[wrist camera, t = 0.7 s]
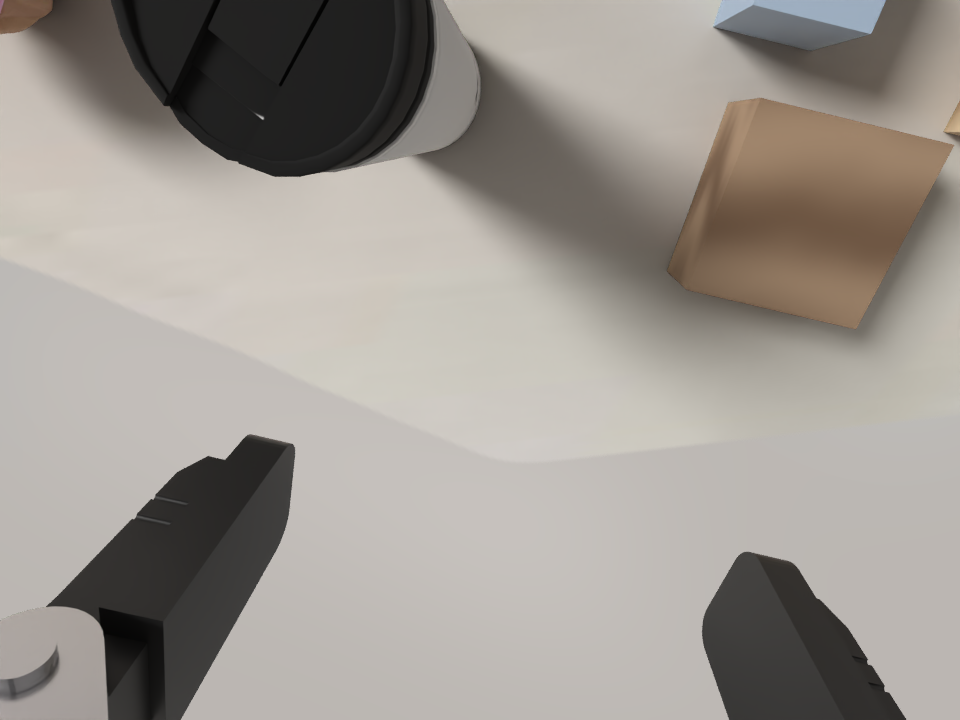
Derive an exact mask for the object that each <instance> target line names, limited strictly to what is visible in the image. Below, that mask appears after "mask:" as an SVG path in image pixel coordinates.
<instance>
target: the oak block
mask: <svg viewBox="0 0 960 720" xmlns="http://www.w3.org/2000/svg"><path fill="white" fill-rule="evenodd" d="M944 132H946V133H950V134H954V135H958V136H960V101H959V103H958V105H957V107H956V109H955V111H954V113H953V115H952V117H951V118H950V120H949V122H948V124H947V126H946V128H945V130H944Z"/></svg>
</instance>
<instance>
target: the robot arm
mask: <svg viewBox="0 0 960 720" xmlns="http://www.w3.org/2000/svg"><path fill="white" fill-rule="evenodd" d="M294 459H295V447H294V445H293V444H290V443H286V442H282V441H277V440H273V439H269V438H264V437H260V436H256V435H247V436H246V437H245V438H244V439H243V440H242V441H241V442H240V444H239V445H238V446H237V447H236V448H235V449H234V451H233V452H232V453H231V454H230V455H229V456H228V457H227V459H226V460H222V459H218V458H214V457H209V456H207V457H206V458H204V459H202V460H200V461H198V462H196V463H194V464H192V465H190V466H188V467H187V468H184V469H182V470H181V471H179V472H177V473H176V474H175V475H174V476H173V477H172V478H171V479H170V480H169V481H168V483H167V484H165V485H164V487H163V488H162V489H161V490H160V491H159V492H158V493H157V494H156V496H155V498H154V500H152V499H151V500H150V501H149V502H148V503H147V504H146V505H145V506H144V507H143V508H142V509H141V511H139V512H138V513H137V516H136V518H135V519H132V520H131V521H130V522H129V523H128V524H127V525H126V526H125V527H124V528H123V529H122V530H121V531H120V532H119V533H118V534H117V535H116V536H115V537H114V538H113V540H111V541H110V542H109V543H108V544H107V545H106V547H104V549H103V550H102V551H101V552H100V553H99V554H98V555H97V556H96V557H95V558H94V559H93V560H92V561H91V562H90V563H89V564H88V565H87V566H86V567H85V568H84V569H83V570H82V571H81V572H80V573H79V574H78V576H76V577H75V579H74V580H73V581H72V582H71V583H70V584H69V585H68V586H67V587H66V588H65V589H64V590H63V591H62V592H61V593H60V594H59V595H58V596H57V597H56V598H55V599H54V600H53V601H52V602H51V603H50V604H48V605H47V606H46V607H43V608H37V609H32V610H27V611H24V612H20V613H17V614H14V615H11V616H9V617H6V618H4V619H2V620H0V720H181V718H182V716H183V714H184V713H185V711H186V709H187V707H188V706H189V704H190V702H191V700H192V699H193V697H194V695H195V693H196V691H197V690H198V688H199V686H200V684H201V683H202V681H203V679H204V677H205V676H206V674H207V672H208V670H209V669H210V667H211V665H212V663H213V661H214V660H215V658H216V656H217V654H218V652H219V651H220V649H221V647H222V645H223V644H224V642H225V640H226V638H227V637H228V635H229V633H230V631H231V630H232V628H233V626H234V624H235V622H236V621H237V619H238V617H239V615H240V614H241V612H242V610H243V608H244V606H245V605H246V603H247V601H248V599H249V598H250V596H251V594H252V592H253V591H254V589H255V587H256V585H257V584H258V582H259V580H260V578H261V576H262V575H263V573H264V571H265V569H266V567H267V565H268V564H269V562H270V560H271V559H272V557H273V555H274V553H275V552H276V550H277V548H278V546H279V544H280V541H281V539H282V536H283V534H284V531H285V527H286V524H287V520H288V515H289V508H290V498H291V488H292V478H293V469H294ZM702 627H703V628H702V636H703V644H704V648H705V651H706V654H707V657H708V660H709V663H710V665H711V668H712V671H713V674H714V677H715V680H716V683H717V686H718V689H719V692H720V694H721V697H722V700H723V703H724V706H725V709H726V711H727V714H728V717H729V720H906V718H905V717H904V715H903V714H902V712H901V711H900V709H899V707H898V706H897V704H896V703H895V701H894V700H893V698H892V696H891V695H890V693H888V692H885V691H884V684H883V683H882V681H881V679H880V678H879V676H878V675H877V673H876V672H875V670H874V668H873V667H872V666H871V665H868V664H867V660H868V659H867V657H866V656H865V654H864V653H863V651H862V650H861V648H860V647H859V645H858V644H857V642H856V640H855V639H854V637H853V636H852V634H851V632H850V631H849V629H848V628H847V627H846V626H845V625H844V624H843V623H842V622H841V621H840V620H839V619H838V618H837V617H836V616H835V615H834V614H833V613H832V612H831V611H830V610H829V609H828V607H827V606H826V605H824V603H823V602H822V601H820V600H819V599H816V597H815V595H814V594H813V592H812V590H811V589H810V587H809V586H808V584H807V582H806V581H805V579H804V578H803V576H802V574H801V573H800V571H799V569H798V568H797V567H796V566H795V565H794V564H793V563H791V562H789V561H785V560H781V559H777V558H772V557H768V556H764V555H760V554H755V553H751V552H744V553H742V554H740V555H739V556H738V557H737V558H736V560H735V562H734V563H733V565H732V567H731V569H730V570H729V572H728V574H727V575H726V577H725V579H724V580H723V582H722V584H721V586H720V587H719V589H718V591H717V592H716V595H715V596H714V598H713V599H712V601H711V603H710V604H709V606H708V608H707V610H706V613H705V616H704V619H703V626H702Z"/></svg>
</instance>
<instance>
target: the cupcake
mask: <svg viewBox="0 0 960 720" xmlns="http://www.w3.org/2000/svg"><path fill="white" fill-rule="evenodd" d="M52 8H53V0H0V34H5V33H16V32H20V31H23V30H25V29H27V28H29V27H30V26H31V25H33V24H34V23H35V22H36V21H37V20H38V19H40V18H42V17H44V16H46V15H47V14H48V13H49V12H51V11H52Z"/></svg>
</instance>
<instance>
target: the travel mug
mask: <svg viewBox="0 0 960 720" xmlns="http://www.w3.org/2000/svg"><path fill="white" fill-rule="evenodd" d="M111 2H112V6H113V9H114V13H115V16H116V20H117V24H118V27H119V31H120V34H121V37H122V39H123V41H124V44H125V46H126V48H127V51H128V53H129V55H130V57H131V60H132V62H133V64H134V66H135V68H136V70H137V71H138V72H139V74H140V75H141V76H142V78H143V79H144V80H145V82H146V83H147V84H148V86H149V87H150V88H151V89H152V91H153V92H154V93H155V95H156V96H157V97H158V99H159V100H160V101H161V103H162V104H163V105H164V106H170V107H171V109H172V111H173V112H174V114H175V116H176V118H177V119H178V121H179V123H180V124H181V125H182V126H184V127H185V128H186V129H187V130H188V131H189V132H190V133H191V134H192V135H193V136H195V137H196V138H197V139H198V140H199V141H200V142H201V143H202V144H204V145H205V146H207V147H208V148H210V149H212V150H213V151H215V152H216V153H218V154H219V155H221V156H222V157H224V158H226V159H227V160H232V161H237V162H238V163H239V164H242V165H244V166H247V167H250V168H252V169H255V170H258V171H261V172H263V173H266V174H269V175H272V176H274V177H301V176H305V175H310V174H315V173H321V172H337V171H342V170H346V169H351V168H356V167H360V166H365V165H370V164H374V163H379V162H384V161H388V160H393V159H398V158H402V157H407V156H412V155H416V154H421V153H426V152H430V151H435V150H439V149H442V148H444V147H447V146H449V145H451V144H452V143H454V142H455V141H456V140H458V139H459V138H460V137H461V136H462V135H463V134H464V133H465V132H466V131H467V130H468V128H469V127H470V125H471V123H472V122H473V120H474V118H475V116H476V113H477V110H478V107H479V103H480V97H481V77H480V72H479V66H478V64H477V61H476V58H475V56H474V53H473V52H472V50H471V48H470V46H469V45H468V43H467V41H466V39H465V38H464V36H463V34H462V32H461V31H460V29H459V27H458V25H457V23H456V22H455V20H454V18H453V16H452V15H451V13H450V11H449V9H448V8H447V6H446V4H445V2H444V1H443V0H111Z"/></svg>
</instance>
